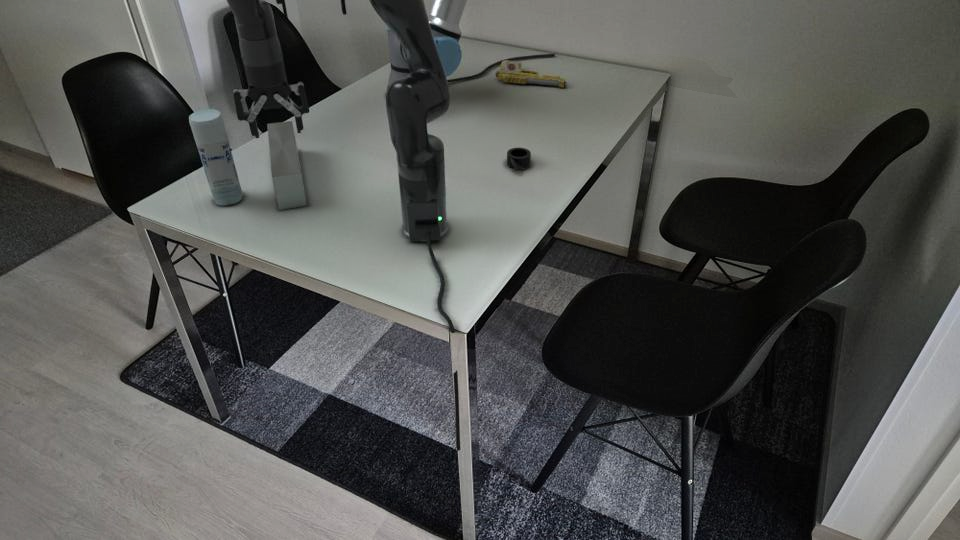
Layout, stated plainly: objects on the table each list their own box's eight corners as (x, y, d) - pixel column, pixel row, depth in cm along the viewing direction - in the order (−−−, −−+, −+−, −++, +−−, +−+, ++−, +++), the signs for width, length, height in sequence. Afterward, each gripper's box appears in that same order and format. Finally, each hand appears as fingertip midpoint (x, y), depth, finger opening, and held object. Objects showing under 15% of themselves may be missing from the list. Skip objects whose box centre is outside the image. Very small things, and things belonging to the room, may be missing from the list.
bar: (306, 205, 140) (300, 173, 135) (279, 210, 139) (271, 177, 134) (298, 151, 161) (292, 120, 156) (274, 154, 159) (267, 123, 154)
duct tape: (494, 167, 154) (494, 156, 152) (516, 151, 160) (516, 141, 158) (520, 176, 150) (521, 165, 148) (542, 160, 156) (543, 149, 155)
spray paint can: (212, 194, 144) (187, 111, 131) (242, 188, 145) (220, 107, 133) (214, 208, 139) (188, 124, 127) (244, 202, 141) (222, 119, 128)
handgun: (569, 72, 204) (565, 89, 193) (500, 66, 208) (492, 82, 196) (570, 65, 203) (566, 81, 191) (501, 58, 206) (492, 74, 195)
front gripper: (298, 48, 127) (311, 122, 137) (224, 54, 124) (243, 130, 134) (301, 61, 121) (314, 138, 131) (223, 68, 118) (243, 146, 128)
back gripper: (354, -92, 142) (365, 6, 155) (239, -87, 136) (260, 15, 149) (359, -87, 136) (370, 15, 149) (239, -81, 130) (261, 24, 143)
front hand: (278, 134), depth 133 cm, fingers open, 8 cm apart
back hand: (315, 15), depth 149 cm, fingers open, 13 cm apart
